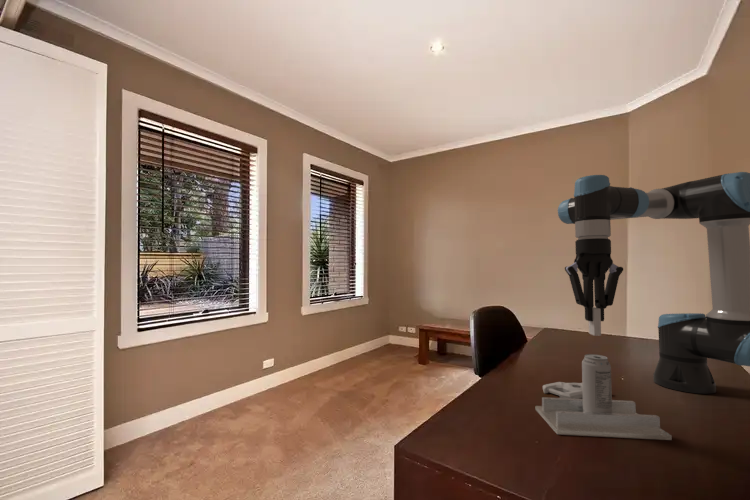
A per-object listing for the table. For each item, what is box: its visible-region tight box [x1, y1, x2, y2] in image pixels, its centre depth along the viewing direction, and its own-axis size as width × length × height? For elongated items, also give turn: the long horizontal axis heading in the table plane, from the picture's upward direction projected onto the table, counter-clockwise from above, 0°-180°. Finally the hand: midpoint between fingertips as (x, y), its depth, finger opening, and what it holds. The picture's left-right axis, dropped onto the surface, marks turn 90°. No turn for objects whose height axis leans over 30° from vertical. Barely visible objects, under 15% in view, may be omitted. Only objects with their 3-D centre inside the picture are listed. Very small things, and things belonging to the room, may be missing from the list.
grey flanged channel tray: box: [535, 396, 673, 441], centre depth 86 cm, size 24×14×4 cm, turn 84°
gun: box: [542, 381, 583, 399], centre depth 107 cm, size 18×3×10 cm
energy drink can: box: [581, 353, 613, 413], centre depth 86 cm, size 6×6×15 cm
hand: (594, 334), depth 87 cm, fingers closed
